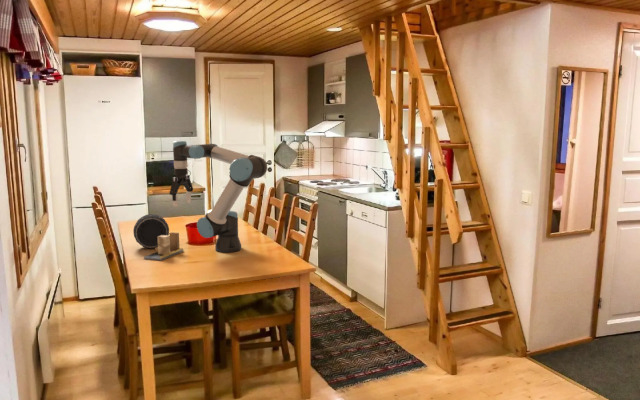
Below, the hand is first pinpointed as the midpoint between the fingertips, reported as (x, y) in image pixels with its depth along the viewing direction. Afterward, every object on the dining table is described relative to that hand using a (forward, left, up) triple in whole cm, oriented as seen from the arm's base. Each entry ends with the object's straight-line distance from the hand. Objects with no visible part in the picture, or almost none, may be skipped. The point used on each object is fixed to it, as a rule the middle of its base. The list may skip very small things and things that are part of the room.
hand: (182, 204), depth 293 cm
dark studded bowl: (+20, +3, -27) cm, 34 cm away
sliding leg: (+3, +17, -25) cm, 31 cm away
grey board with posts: (+3, +16, -27) cm, 31 cm away
